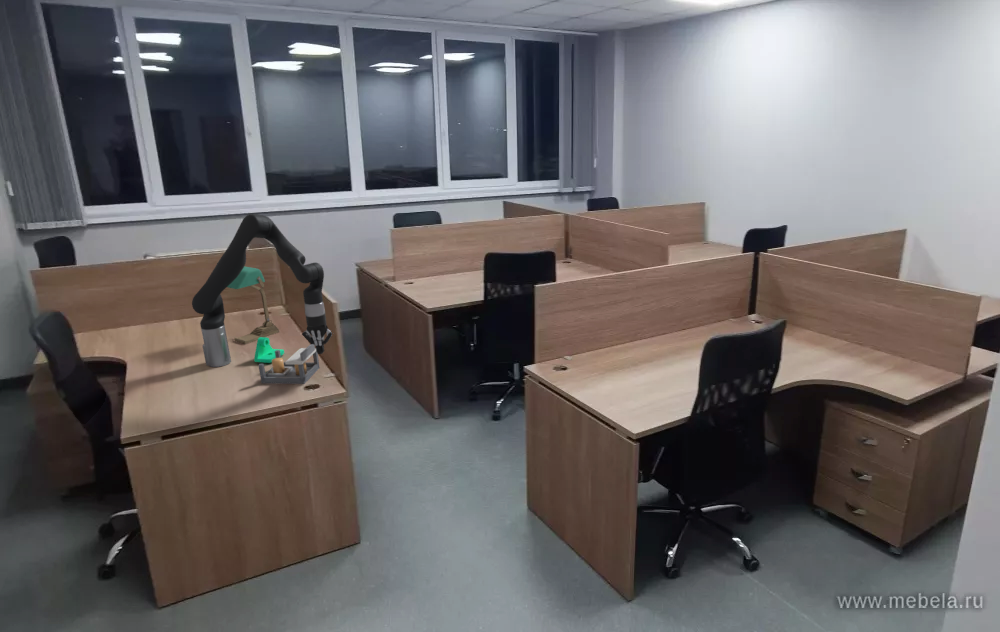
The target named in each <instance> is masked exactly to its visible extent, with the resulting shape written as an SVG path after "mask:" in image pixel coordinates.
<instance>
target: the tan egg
mask: <svg viewBox="0 0 1000 632" xmlns="http://www.w3.org/2000/svg"><path fill="white" fill-rule="evenodd" d="M284 362H285V361H284V358H283V357H281V358H275V359H272V362H271V365H272V366H271V367H273V372H274V373H284V372H285V369H284Z"/></svg>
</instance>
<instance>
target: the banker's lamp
mask: <svg viewBox="0 0 1000 632" xmlns="http://www.w3.org/2000/svg"><path fill="white" fill-rule="evenodd" d="M265 282H266V281H265V278H264V274H263V272H262V271H261V269H259V268H255V267H251V266H246V265H245V266H244V268H243V269H242V271H241V272H240V274H239V275H238V276H237V278H236V279H235V280H234V281H233V282H232V283H231V284H230V285H229V286H227V287H226V288H228V289H233V290H238V289H240V290H241V289H244V288H247V287H249V288H252V289H255V290H258V292H259V293H260V295H261V302H262V308H263V312H264V314H263V315H264V319H265V321H263V322H262V325H261V326H257V327H256V328H254V329H253V330H252V331H251V332H250V333H248V334H245V335H242V336H240V337H233V338H234V342H237V343H238V344H239V343H240V344H244V345H247V344H250V343H253V342H256V341H257V340H258V338H259V337H266V338H268V337H270V336H273V335H274V334H275V335H276V334H278V333H280V328H278V327H277V325H276V324H274V322H273V321H272V320H271V319H270V314H269V308H268V302H267V301H268V300H267V296H266V292H265V290H264V288H265V284H264V283H265ZM258 284H260V286H261V287H260V286H258Z"/></svg>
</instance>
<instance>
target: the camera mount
mask: <svg viewBox="0 0 1000 632" xmlns="http://www.w3.org/2000/svg"><path fill="white" fill-rule="evenodd" d="M256 341H257V342H256V346H255V353H254V358H253V360H254V362H255V363H263V364H266V363H268V364H270V363H271V364H272V359H275V358H276V356H275V351H276V350H280V355H281V356H283V355H284V354H285V349H281V348H273V347H272V345H271V344H270V343H271V341H270V338H269V337H259V338H258V340H256Z"/></svg>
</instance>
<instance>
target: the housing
mask: <svg viewBox="0 0 1000 632" xmlns="http://www.w3.org/2000/svg"><path fill="white" fill-rule="evenodd" d="M275 356H276V358H282V355H280V350H276V351H275ZM312 358H313V359H312V360H313V362H307V361H305V362H304V363H303V364H302V365H298V364H285V362H286V361H283V362H284V369H285V372H284V373H274V372H273V366H271V368H270V369H269V370H268V371H266V370H265V368H266V367H265V363H259V364H258V370H259V371H258V372H259V376H260V383H261V384H274V385H275V384H277V385H279V384H283V385H285V384H287V385H288V384H289V385H291V384H293V385H295V384H298V385H305V384H306V383H307V382H308V381H309V380H310V379H311V378H312V376H313V375H315V374H316V372H317V371H318V370H319V369H320V360H319V354H318V353H317V352H315V353H314V354H313V355H312Z"/></svg>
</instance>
